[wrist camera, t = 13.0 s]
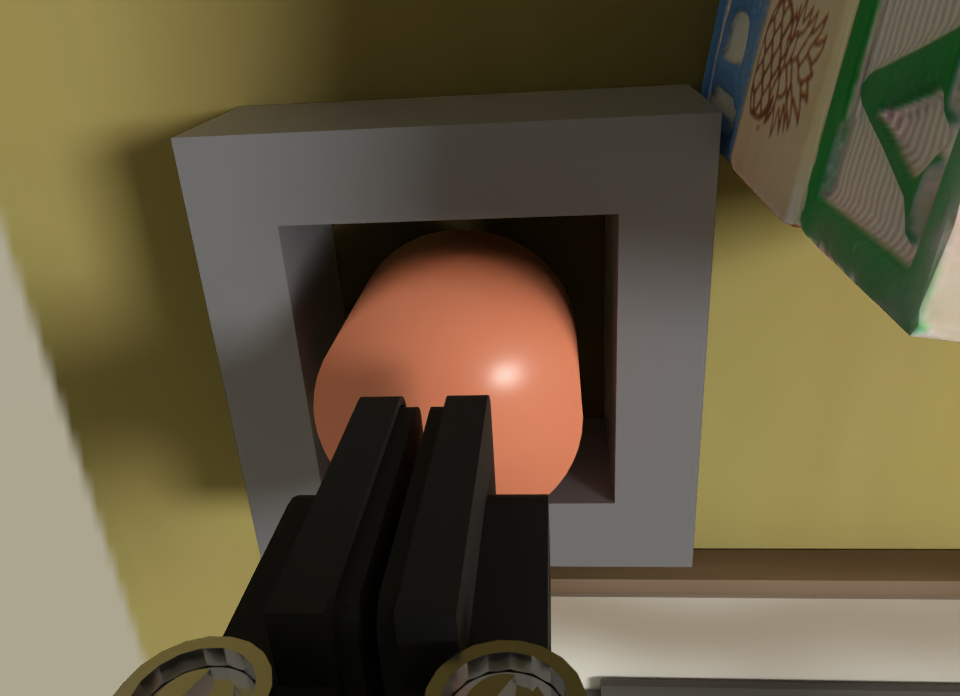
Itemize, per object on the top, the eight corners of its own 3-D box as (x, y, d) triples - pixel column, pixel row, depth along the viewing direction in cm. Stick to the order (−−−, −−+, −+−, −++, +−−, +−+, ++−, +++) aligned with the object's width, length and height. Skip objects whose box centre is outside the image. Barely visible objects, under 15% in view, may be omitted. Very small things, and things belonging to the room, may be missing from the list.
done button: (343, 233, 14) (294, 297, 11) (575, 225, 14) (582, 289, 11) (369, 432, 16) (333, 529, 13) (577, 430, 15) (583, 529, 13)
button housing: (239, 106, 15) (170, 137, 12) (688, 84, 14) (721, 112, 11) (305, 475, 18) (262, 565, 15) (669, 473, 17) (692, 567, 15)
